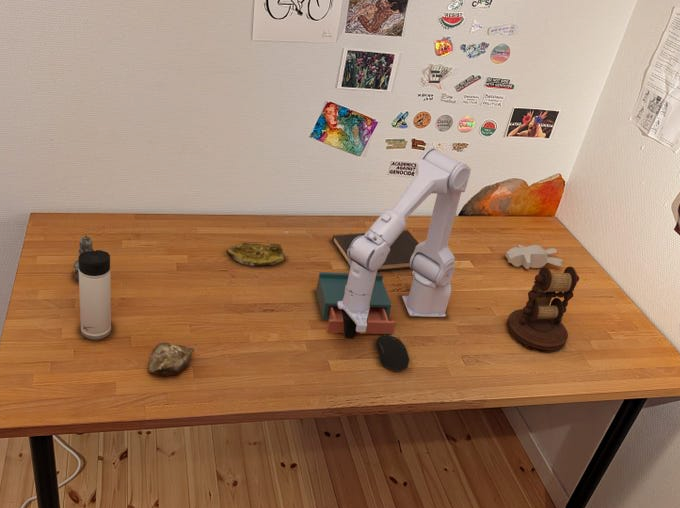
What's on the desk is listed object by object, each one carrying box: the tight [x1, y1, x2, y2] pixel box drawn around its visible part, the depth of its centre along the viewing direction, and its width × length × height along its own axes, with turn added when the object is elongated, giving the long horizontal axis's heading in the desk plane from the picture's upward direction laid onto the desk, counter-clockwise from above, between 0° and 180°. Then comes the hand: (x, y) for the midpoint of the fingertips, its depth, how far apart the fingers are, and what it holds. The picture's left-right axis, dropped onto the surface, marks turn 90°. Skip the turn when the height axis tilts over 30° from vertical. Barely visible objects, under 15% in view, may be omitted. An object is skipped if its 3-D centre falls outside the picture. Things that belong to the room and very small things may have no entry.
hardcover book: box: [331, 229, 420, 272], centre depth 204 cm, size 16×23×2 cm
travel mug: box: [77, 249, 112, 341], centre depth 156 cm, size 6×7×20 cm
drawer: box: [326, 306, 397, 335], centre depth 176 cm, size 16×12×3 cm
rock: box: [147, 342, 195, 376], centre depth 154 cm, size 8×7×10 cm
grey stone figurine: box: [72, 234, 95, 283], centre depth 173 cm, size 6×6×12 cm
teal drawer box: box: [315, 271, 392, 321], centre depth 181 cm, size 16×11×6 cm
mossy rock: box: [226, 242, 285, 267], centre depth 193 cm, size 9×5×15 cm
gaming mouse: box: [375, 334, 410, 372], centre depth 169 cm, size 6×15×4 cm, turn 9°
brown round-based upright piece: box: [506, 265, 580, 351], centre depth 179 cm, size 15×15×20 cm
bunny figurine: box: [505, 244, 564, 270], centre depth 211 cm, size 10×5×15 cm
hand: (348, 336), depth 167 cm, fingers closed
